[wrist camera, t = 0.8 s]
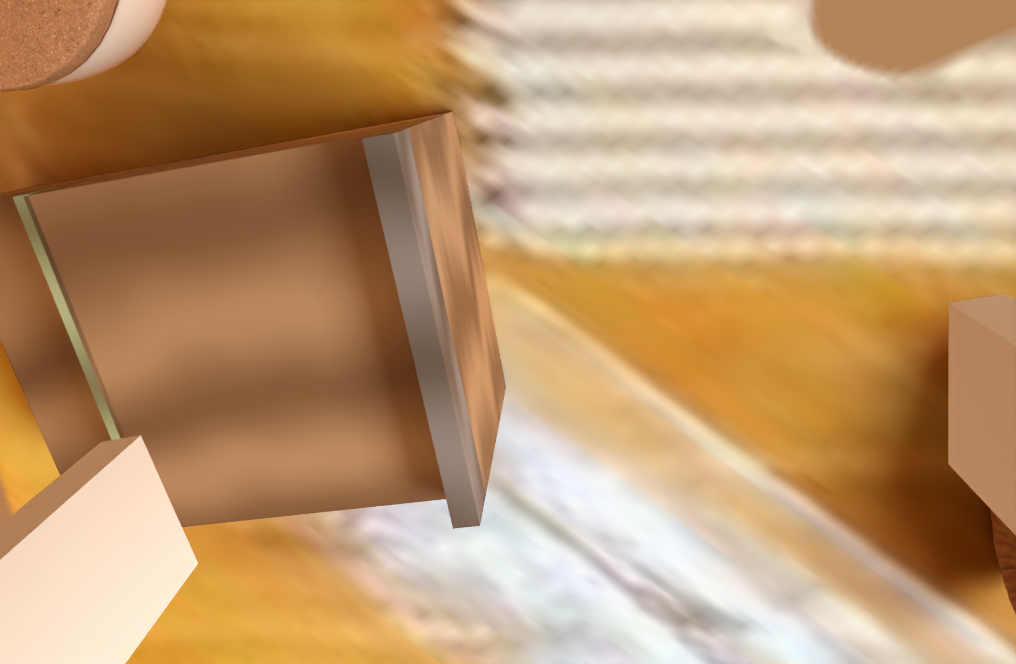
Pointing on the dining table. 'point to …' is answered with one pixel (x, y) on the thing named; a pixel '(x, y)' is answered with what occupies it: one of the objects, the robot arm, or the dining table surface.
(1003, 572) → the wooden carving
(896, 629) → the dining table surface
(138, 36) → the lidded jar
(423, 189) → the stepped stand
